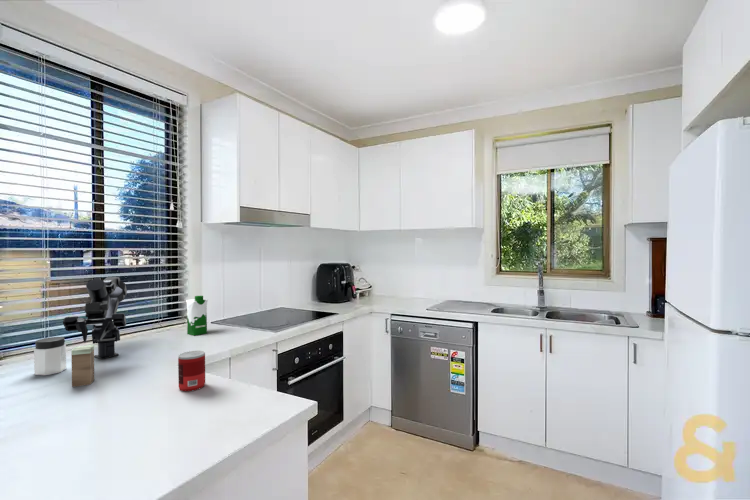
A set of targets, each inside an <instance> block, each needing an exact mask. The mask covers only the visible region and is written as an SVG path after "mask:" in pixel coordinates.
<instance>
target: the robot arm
mask: <svg viewBox="0 0 750 500" xmlns="http://www.w3.org/2000/svg"><path fill="white" fill-rule="evenodd" d="M85 285H86V286H85V287H86V289H87V293H88V296H89V298H90V299H91V300H90V302H86V303H85V304H84V313H85V318H84V317H83V318H79V315H78V316H77V315H76V316H66V317H64V318H63V321H62V324H63V326H64V329H65V331H67V332H75V331H77V332H79V333H81V334H82V340H83V343H86V342H87V340H88V339H87V338H88V332H89V330H88V327H87V326H93V325H94V326H93V327H94V328H92V330H91V340H92V345H95V344H97V354H96V355H95V354H94V358H97V359H100V360H101V359H102V360H103V359H108V358H111V357H115V356H119V353H117V352H115V350H116V349H115V348H116V347H115V346H116V343H117V342H119V341H121V334H120V330H119V328H124V327H126V326H127V318H126V315H125V313H124V312H121V313H119V312H118V313H117V311H118V308H119V304H120V303H121V302H123V301H124V300H125V297H126V296H127V293H128V292H127V291H128V290H127V286H126V285H127V284H126V283H125V282H124V281H122V280H121V278H120V276H107V277H105V279H101V277H99V276H97V277H96V276H95V277H94V278H93V279H91V280H89V281H88V282H87V283H86V284H85Z"/></svg>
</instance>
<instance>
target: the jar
mask: <svg viewBox="0 0 750 500" xmlns="http://www.w3.org/2000/svg"><path fill="white" fill-rule="evenodd" d="M34 342H35V348H34V349H33V359H34V360H33V364H34V365H33V370H34V376H49V375H55V374H58V373H62V372H63V371H65V370H66V369H67V344H66V340H65V336H64V337H63V336H52V337H45V338H41V339H37V340H35V341H34Z"/></svg>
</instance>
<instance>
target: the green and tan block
mask: <svg viewBox="0 0 750 500" xmlns="http://www.w3.org/2000/svg"><path fill="white" fill-rule="evenodd" d="M70 351H71V387H72V388H74V387H80V386H87V385H88V386H89V385H91V384H92V383H93V382H94V381H95V357H94V356H95V344H92V345H81V346H76V347H74V348H72V349H71V350H70Z"/></svg>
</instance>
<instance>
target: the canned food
mask: <svg viewBox="0 0 750 500" xmlns="http://www.w3.org/2000/svg"><path fill="white" fill-rule="evenodd" d="M177 362H178V363H177V366H178V367H177V368H178V369H177V371H178V375H177V376H178V390H179V391H181V392H192V390H194V391H198V390H200V389H202V388H204V387H205V385H206V352H205V351H204V350H189V351H183V352H182V353H180V354H178V358H177ZM203 386H204V387H203ZM199 388H200V389H199ZM197 389H198V390H197Z"/></svg>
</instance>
